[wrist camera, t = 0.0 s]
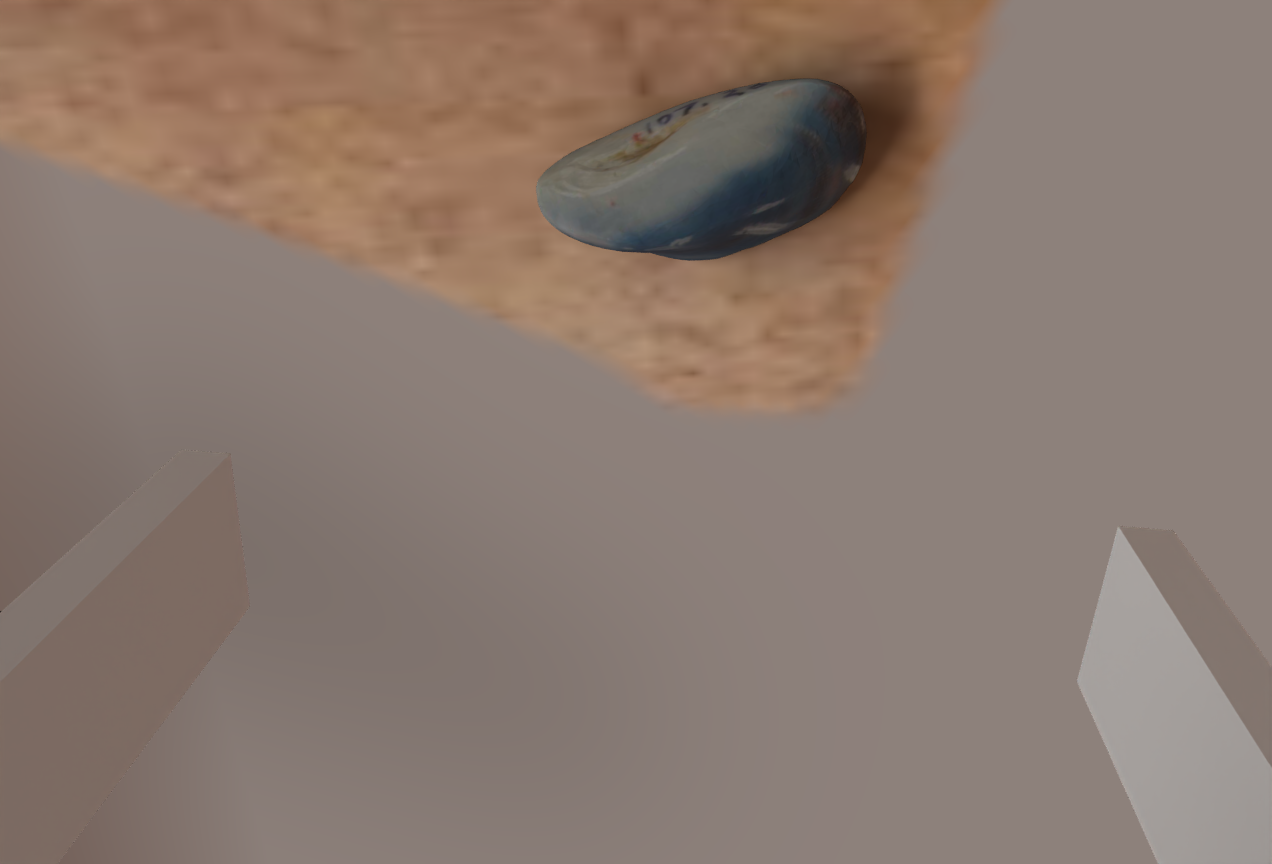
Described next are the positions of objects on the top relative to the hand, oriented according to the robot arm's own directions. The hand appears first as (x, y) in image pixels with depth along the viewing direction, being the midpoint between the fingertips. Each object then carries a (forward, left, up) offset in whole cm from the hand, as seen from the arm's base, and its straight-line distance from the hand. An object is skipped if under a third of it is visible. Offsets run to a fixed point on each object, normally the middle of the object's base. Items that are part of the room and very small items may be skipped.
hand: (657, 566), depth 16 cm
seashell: (-1, 0, -28) cm, 28 cm away
